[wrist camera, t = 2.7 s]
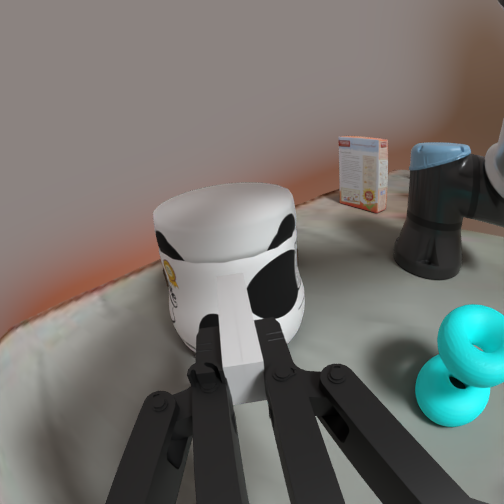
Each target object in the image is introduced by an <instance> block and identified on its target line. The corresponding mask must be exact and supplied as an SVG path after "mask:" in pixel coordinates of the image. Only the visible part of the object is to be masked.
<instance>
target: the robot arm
mask: <svg viewBox="0 0 504 504" xmlns="http://www.w3.org/2000/svg"><path fill="white" fill-rule="evenodd" d="M498 3H499V5H500V6H501V7H502V9H503V10H504V0H498ZM470 153H471V150H470V147H469V146H468V145H464V144H455V143H419V144H416V145H415V146H414V147H413V148H412V151H411V164H410V167H409V170H410V186H409V198H408V208H407V217H406V221H405V223H404V225H403V228H402V230H401V233H400V236H399V237H398V238H397V240H396V242H395V246H394V253H393V256H394V259H395V261H396V262H397V263H398V264H399V265H400V266H401V267H402V268H404V269H405V270H407V271H409V272H411V273H413V274H415V275H418V276H421V277H424V278H429V279H448V278H452V277H454V276H456V275H457V274H458V273H459V271H460V267H461V264H462V246H461V226H462V220H463V217H466V218H470V219H475V220H479V221H482V222H487V223H490V224H494V225H497V226H501V227H504V120H503V124H502V129H501V133H500V137H499V141H498V143H496V144H494V145H492V146H491V147H490V148H489V149H488V151H487V153H486V156H485V157H483V156H479V155H474V154H470ZM216 282H217V299H218V314H219V326H216V327H208V328H201V329H200V330H199V332H198V334H197V336H196V363H195V364H193V365H192V366H191V367H190V368H189V369H188V373H187V376H188V379H189V381H190V383H191V386H190V387H189V388H188V389H186V390H184V391H182V392H179V393H176V394H174V395H171V394H170V393H168V392H166V391H157V392H154V393H152V394H150V395H149V396H147V398H146V399H145V401H144V403H143V406H142V408H141V410H140V413H139V415H138V418H137V420H136V423H135V425H134V428H133V430H132V433H131V435H130V438H129V441H128V443H127V446H126V448H125V451H124V454H123V456H122V459H121V461H120V464H119V467H118V470H117V472H116V475H115V478H114V480H113V483H112V486H111V489H110V492H109V495H108V497H107V500H106V503H105V504H176V500H177V496H178V492H179V488H180V484H181V480H182V476H183V472H184V468H185V464H186V460H187V456H188V452H189V448H190V444H191V441H192V437H193V452H194V473H195V488H196V501H197V504H249V501H248V496H247V490H246V484H245V478H244V472H243V465H242V459H241V453H240V446H239V439H238V432H237V425H236V418H235V413H234V410H233V405H236V404H243V403H250V402H256V401H262V400H267V401H268V407H269V417H270V418H271V422H272V427H273V431H274V435H275V440H276V444H277V448H278V453H279V457H280V461H281V465H282V469H283V474H284V478H285V482H286V486H287V490H288V494H289V498H290V502H291V504H345V502H344V499H343V496H342V493H341V490H340V487H339V484H338V481H337V478H336V475H335V472H334V469H333V467H332V464H331V461H330V458H329V455H328V452H327V449H326V446H325V443H324V440H323V438H322V435H321V432H320V429H319V426H318V423H317V420H316V417H315V416H317V417H318V419H319V420H320V422H321V423H322V424H323V426H324V427H325V428H326V430H327V431H328V433H329V434H330V435H331V437H332V438H333V439H334V441H335V442H336V444H337V445H338V446H339V448H340V449H341V450H342V452H343V453H344V454H345V456H346V457H347V458H348V460H349V461H350V462H351V464H352V465H353V466H354V468H355V469H356V470H357V471H358V473H359V474H360V475H361V477H362V478H363V479H364V481H365V482H366V483H367V484H368V486H369V487H370V488H371V489H372V491H373V492H374V493H375V494H376V496H377V497H378V498H379V499H380V501H381V502H382V503H383V504H488V503H485V502H482V501H478V500H475V499H472V498H470V497H469V496H468V495H467V494H466V493H465V492H464V491H463V490H462V489H461V488H460V487H459V486H458V484H457V483H456V482H455V481H454V480H453V479H452V478H451V477H450V476H449V475H448V474H447V473H446V472H445V471H444V470H443V469H442V467H441V466H440V465H439V464H438V463H437V462H436V461H435V460H434V459H433V458H432V457H431V456H430V455H429V454H428V452H427V451H426V450H425V449H424V448H423V447H422V446H421V445H420V444H419V443H418V442H417V441H416V440H415V438H414V437H413V436H412V435H411V434H410V433H409V432H408V431H407V430H406V429H405V428H404V427H403V426H402V424H401V423H400V422H399V421H398V420H397V419H396V418H395V417H394V416H393V415H392V414H391V413H390V411H389V410H388V409H387V408H386V407H385V406H384V405H383V404H382V403H381V402H380V401H379V400H378V398H377V397H376V396H375V395H374V394H373V393H372V392H371V391H370V390H369V389H368V388H367V386H366V385H365V384H364V383H363V382H362V381H361V380H360V379H359V378H358V377H357V376H356V374H355V373H354V372H353V371H352V370H351V369H350V368H348V367H347V366H345V365H342V364H331V365H328V366H327V367H325V368H324V369H323V370H322V372H315V371H305V370H302V369H300V368H299V367H297V366H296V365H295V364H294V362H293V360H292V358H291V355H290V352H289V349H288V346H287V343H286V340H285V338H284V334H283V332H282V329H281V326H280V323H279V322H278V321H277V320H276V319H275V318H274V317H270V318H265V319H259V320H254V319H253V315H252V310H251V306H250V302H249V297H248V293H247V289H246V284H245V280H244V275H243V273H237V274H230V275H223V276H216Z"/></svg>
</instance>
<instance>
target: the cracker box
mask: <svg viewBox="0 0 504 504" xmlns="http://www.w3.org/2000/svg"><path fill="white" fill-rule="evenodd" d="M339 166H340V167H339V168H340V203H342V204H346V205H349V206H353V207H357V208H360V209H364V210H367V211H371V212H374V213H378V212H381V211H383V210H385V209H386V199H387V177H388V140H386V139H377V138H369V137H358V136H340V137H339Z"/></svg>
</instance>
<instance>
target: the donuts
mask: <svg viewBox="0 0 504 504" xmlns="http://www.w3.org/2000/svg"><path fill="white" fill-rule="evenodd" d="M437 342H438V350H439V354H438V355H436V356H434V357H433V358H431V359H430V360H429V361H427V362H426V363H425V365H424V366H423V367H422V368H421V370H420V372H419V374H418V377H417V380H416V386H415V393H416V398H417V402H418V404H419V407H420V408H421V410H422V412H423V413H424V414H425V415H426V416H427V417H428V418H429V419H430V420H432V421H433V422H435V423H437V424H439V425H442V426H447V427H457V426H462V425H465V424H467V423H469V422H471V421H473V420H474V419H476V418H477V417H478V416H479V415H480V414H481V412H482V411H483V410H484V408H485V406H486V404H487V402H488V399H489V395H490V387H493V386H496V385H499V384H501V383H502V382H504V315H502V314H501V313H499V312H498V311H496V310H494V309H492V308H489V307H486V306H483V305H475V304H471V305H464V306H461V307H458V308H456V309H454V310H453V311H451V312H450V313H449V314H448V315H447V316H446V317H445V318H444V320H443V321H442V323H441V326H440V328H439V331H438V338H437ZM473 345H476V346H478V347H480V348H481V349H482V350H483V351H484V352H483V351H480V350H479V349H477V348H476V347H474V346H473ZM449 377H454V378H457V379H458V380H460V381H461V382H462V383H463V384H464V385H465V387H466V389H459V388H456V387H455V386H454V385H452V383H451V382H450V379H449Z"/></svg>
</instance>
